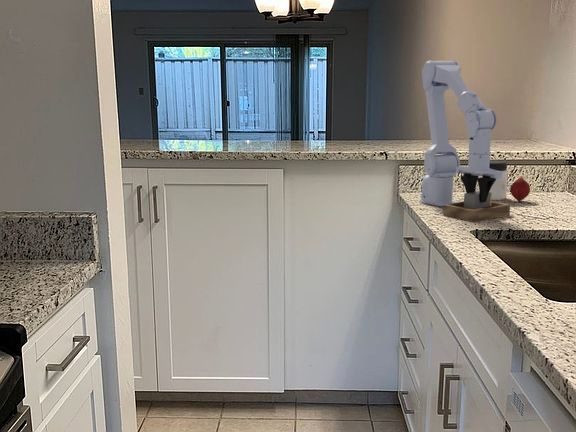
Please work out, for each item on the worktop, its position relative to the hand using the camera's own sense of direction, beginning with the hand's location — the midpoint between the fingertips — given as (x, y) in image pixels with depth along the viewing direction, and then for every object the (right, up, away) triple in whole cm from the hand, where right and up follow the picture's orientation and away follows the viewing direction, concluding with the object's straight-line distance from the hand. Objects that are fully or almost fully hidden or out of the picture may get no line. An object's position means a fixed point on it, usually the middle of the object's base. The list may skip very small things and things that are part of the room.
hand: (476, 201), depth 166 cm
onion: (+20, 0, +19) cm, 28 cm away
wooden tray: (0, -4, +1) cm, 4 cm away
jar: (+13, +1, +26) cm, 29 cm away
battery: (0, -2, 0) cm, 2 cm away
